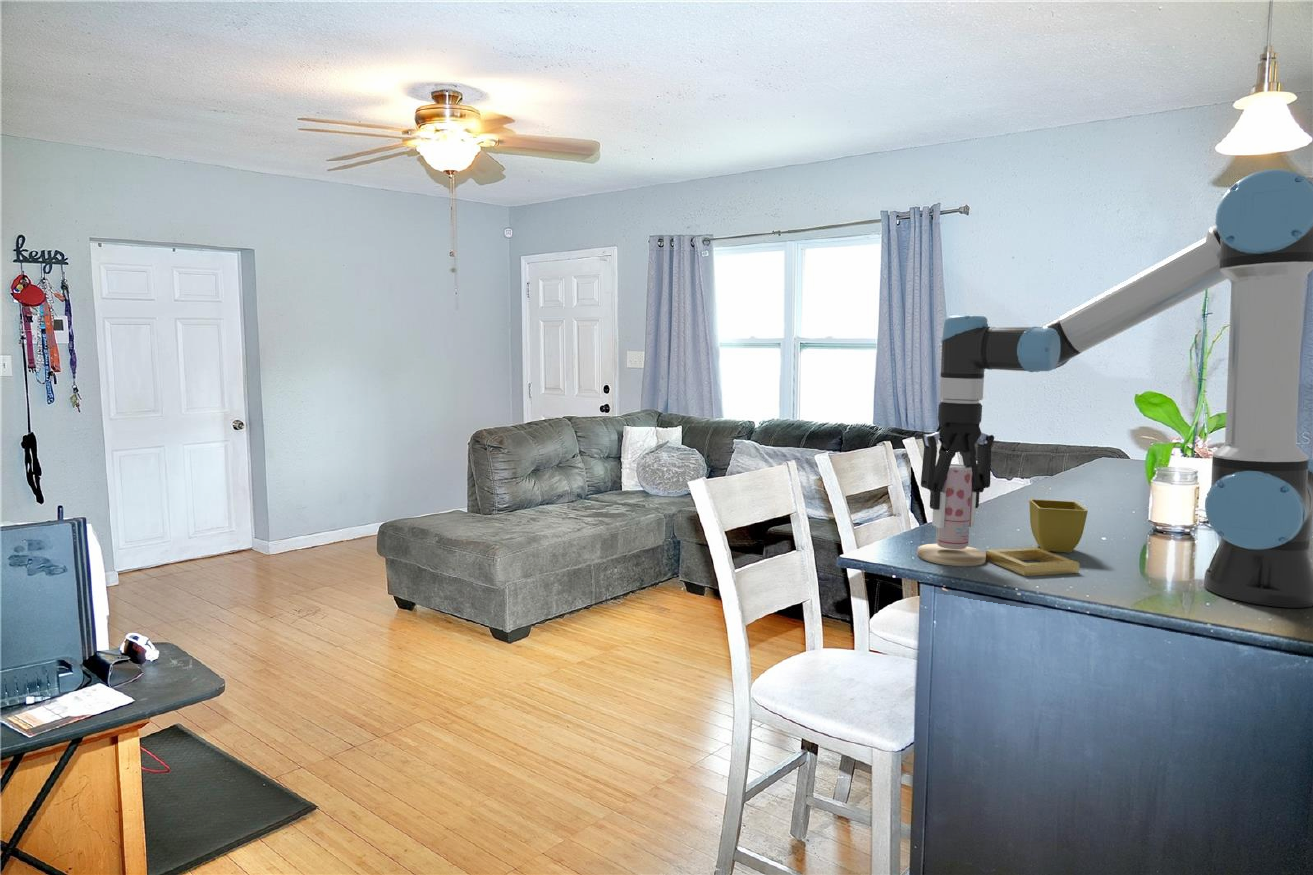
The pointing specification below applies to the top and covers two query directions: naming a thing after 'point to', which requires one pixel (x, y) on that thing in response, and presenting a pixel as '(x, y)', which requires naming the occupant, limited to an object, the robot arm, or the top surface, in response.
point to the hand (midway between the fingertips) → (953, 525)
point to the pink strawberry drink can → (956, 508)
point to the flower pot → (1057, 524)
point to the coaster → (951, 555)
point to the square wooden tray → (1046, 566)
